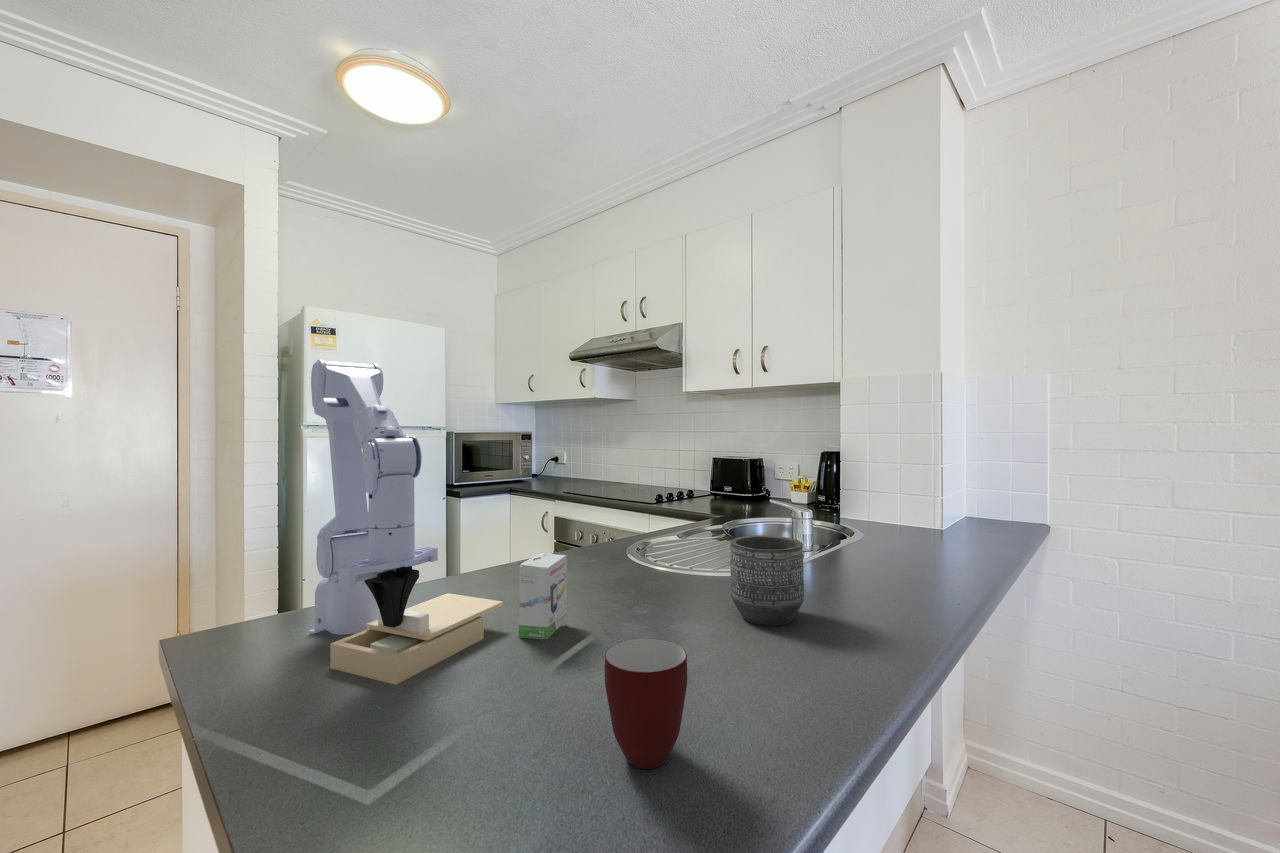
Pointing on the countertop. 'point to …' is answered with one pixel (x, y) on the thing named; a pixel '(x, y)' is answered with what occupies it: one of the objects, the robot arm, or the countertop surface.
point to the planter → (767, 578)
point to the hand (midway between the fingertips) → (392, 625)
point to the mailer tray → (399, 667)
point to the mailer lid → (437, 616)
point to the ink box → (542, 595)
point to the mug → (646, 698)
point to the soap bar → (393, 644)
